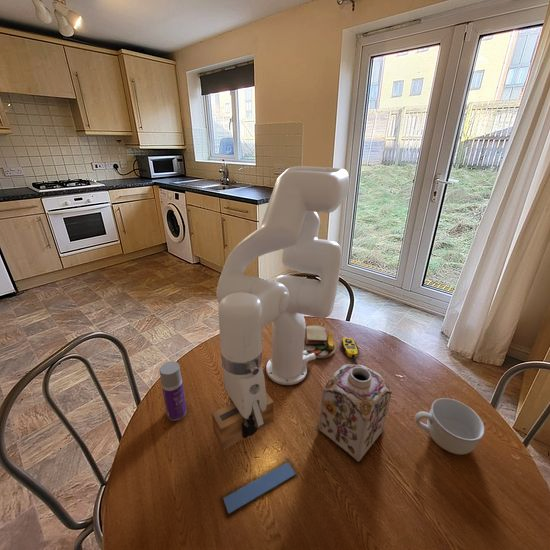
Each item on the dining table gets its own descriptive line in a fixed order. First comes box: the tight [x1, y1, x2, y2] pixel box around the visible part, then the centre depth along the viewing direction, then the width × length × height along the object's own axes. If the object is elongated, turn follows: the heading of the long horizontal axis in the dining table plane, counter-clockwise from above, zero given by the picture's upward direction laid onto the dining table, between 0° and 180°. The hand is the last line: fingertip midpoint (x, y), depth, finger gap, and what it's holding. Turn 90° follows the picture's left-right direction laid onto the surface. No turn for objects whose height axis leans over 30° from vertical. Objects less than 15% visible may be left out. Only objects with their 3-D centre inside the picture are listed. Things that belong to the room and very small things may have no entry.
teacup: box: [414, 397, 486, 455], centre depth 69 cm, size 14×11×8 cm
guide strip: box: [222, 461, 297, 515], centre depth 59 cm, size 15×3×1 cm, turn 119°
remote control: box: [341, 337, 359, 365], centre depth 97 cm, size 5×2×15 cm
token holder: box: [211, 392, 275, 451], centre depth 61 cm, size 12×4×6 cm, turn 124°
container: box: [159, 360, 187, 421], centre depth 72 cm, size 5×5×15 cm
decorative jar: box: [318, 363, 393, 462], centre depth 68 cm, size 12×12×18 cm
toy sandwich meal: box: [304, 325, 337, 359], centre depth 100 cm, size 12×14×5 cm
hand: (244, 424), depth 62 cm, fingers closed on token holder, 4 cm apart
